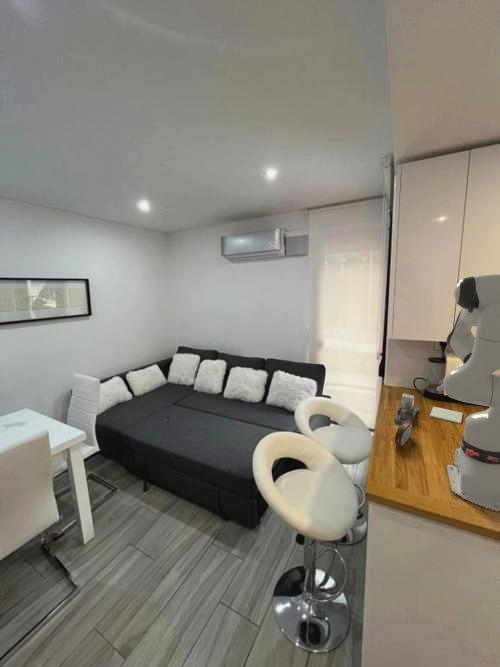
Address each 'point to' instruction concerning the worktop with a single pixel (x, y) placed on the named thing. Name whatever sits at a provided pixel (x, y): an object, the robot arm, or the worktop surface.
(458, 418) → the cutting board
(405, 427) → the tin
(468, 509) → the worktop surface
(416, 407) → the hand plane
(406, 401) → the grey rectangular block
